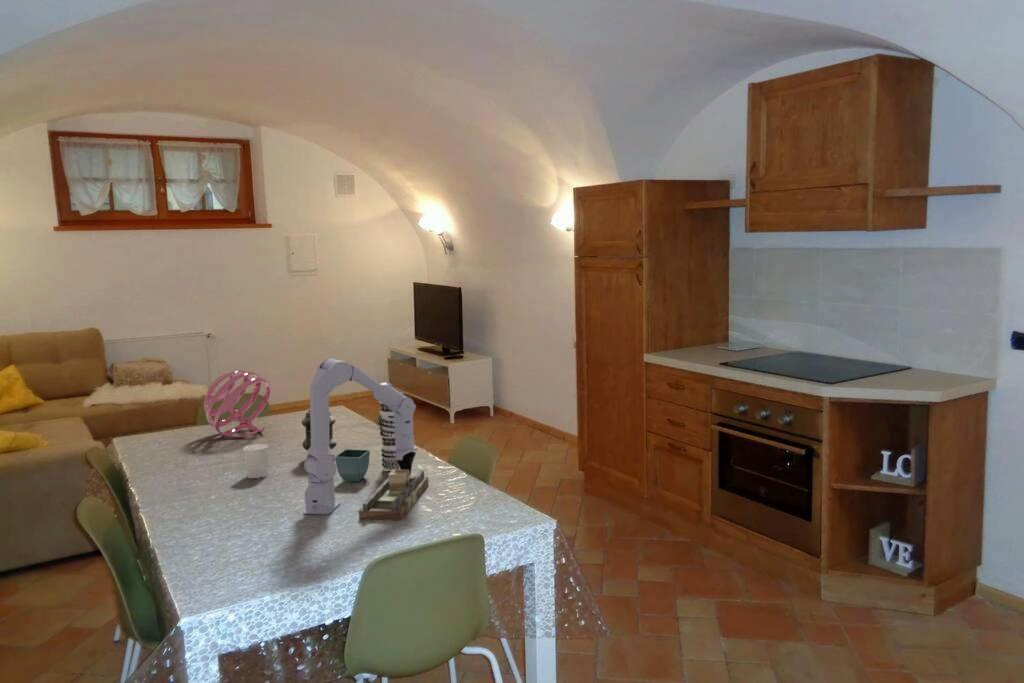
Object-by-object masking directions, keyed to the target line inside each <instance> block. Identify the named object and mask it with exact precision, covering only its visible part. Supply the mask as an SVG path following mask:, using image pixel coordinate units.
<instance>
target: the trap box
mask: <svg viewBox="0 0 1024 683" xmlns="http://www.w3.org/2000/svg"><path fill="white" fill-rule="evenodd" d="M424 472H425V471H424V470H419V471H418V473H416V474H415V476H409V477H410V483H409V484H408V485H407V487H406V488H405V489H404V490H403V491H392V490H389V476H388V477H387V478H386V479H385V480H384V481H383V483H381V485H380V486H378V487H377V489H376V490H374V492H373V493H372V494H371V495H370V496H369V497H368V498H367V499H366V500H365V501H364V502H363V503H362V507H361V508H360V509H359V510H358V520H363V519H370V520H369V521H372V520H373V521H401V520H402V519H403V518H404V516H406V514H407V513H408V511H409V510H410V509H411V508H412V506H413V505H414V503H415V502H416V501H417V500H418V499H419V497H420V496H421V495H422V494H423V492H424V491H425V490H426V488H427V487H428V486H429V476H425V473H424ZM427 485H428V486H427ZM426 486H427V487H426ZM423 490H424V491H423ZM422 491H423V492H422ZM420 494H421V495H420ZM419 495H420V496H419ZM417 498H418V499H417Z"/></svg>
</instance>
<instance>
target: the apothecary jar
mask: <svg viewBox="0 0 1024 683" xmlns="http://www.w3.org/2000/svg"><path fill="white" fill-rule="evenodd" d="M335 423H336V417H335V415H334V414H332V412H331V409H330V408H329V439H330V449H331V450H333V449H335V447H336V446H337V443H338V441H337V439H336V437H334V431H333V425H334V424H335ZM301 425H302V426H303V427H304V428H305V438H304V440H303V441H302V447H303V449H304V450H306V452H307V451H308V449H309V448H310V447H311V423H310V408H309V409H306V411H305V416H303V418H302V420H301ZM334 457H335V454H333V458H334ZM334 459H335V458H334Z"/></svg>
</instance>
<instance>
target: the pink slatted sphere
mask: <svg viewBox="0 0 1024 683" xmlns="http://www.w3.org/2000/svg"><path fill="white" fill-rule="evenodd" d="M235 374H237V375H235ZM253 375H254V377H253V378H250V376H253ZM227 378H229V380H227V381H226V382H225V383H224V384H223V385H221V386H220V387H219V389H218V390H217V391H216V392H215V389H216V388H217V387H218V386H219V385H220V384H221V383H222V382H223V381H224V380H226V379H227ZM240 379H242V383H241V384H239V385H238V386H237V387H236V388H234V387H235V385H236V382H237V381H239V380H240ZM263 383H266V384H265V385H266V388H265V392H264V396H263V398H262V399H261V402H260V403H259V405H258V407H257V408H256V409H255V410H254V411H253V412H252V413H251V414H250V415H249V416H248V417H247V418H245V417H244V414H245V413H246V412H247V411H248V410H249V409H250V408H251V406H252V405H253V404H254V402H255V401H256V400H257V398H258V396H259V394H260V392H261V388H262V384H263ZM254 384H255V386H254V388H253V391H252V392H251V395H250V396H249V398H248V399H247V400H246V401H245V402H244V404H243V405H242V406H241V407H240V408H239V409H235V405H236V404H237V403H238V402H239V401H240V400H241V398H243V396H244V395H245V393H246V391H247V389H248V388H249V387H251V386H252V385H254ZM271 387H272V386H271V384H270V383H269V381H268V380H267V379H266V378H263V377H261V376H260V375H259V374H258V373H256V372H254V371H245V370H242V369H240V370H234V371H230V372H228V373H224V374H223V375H220V376H219V377H217V378H216V379H214V381H213V382H212V383H211V385H210V386H209V388H208V389H207V392H206V395H205V398H204V403H203V407H204V412H205V415H206V420H207V422H208V423H209V425H210V426H211V427H212V428H213V429H214V430H215V431H216V432H217V433H219V434H220V435H222V436H224V437H227V438H230V439H244V438H247V437H251V436H253V435H254V434H256V433H262V432H264V431H265V430H266V427H262V428H258V427H257V426H255V425H253V424H252V423H253V422H254V420H255V419H256V418H258V416H259V415H260V414H261V412H262V411H263V410H264V408H266V407H265V406H266V405H267V404H268V402H269V399H270V396H271V393H272V388H271ZM233 388H234V389H233ZM214 392H215V393H214ZM219 401H222V403H221V404H220V406H218V408H215V409H213V408H214V406H215V404H216V403H217V402H219ZM225 412H229V413H230V416H228V417H227V418H225V419H222V420H221V418H222V416H223V414H224V413H225ZM213 416H214V419H213V418H212V417H213ZM233 422H238V423H239V424H238V425H236V426H235V427H233V428H231V429H228V430H220V428H221V427H225V426H228V425H230V424H231V423H233ZM243 429H248V430H250V431H252V432H249V433H247V434H243V435H233V433H234V434H236V433H238V432H240V431H242V430H243ZM230 434H231V435H230Z"/></svg>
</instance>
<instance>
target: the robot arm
mask: <svg viewBox="0 0 1024 683" xmlns="http://www.w3.org/2000/svg"><path fill="white" fill-rule="evenodd" d="M348 381H349V382H356V383H357V384H359V385H361V386H362V387H364V388H365V389H368V390H369V391H371V392H373V397H374V399H375V400H377V401H378V402H379V401H380V402H381V403H383V404H384V405H386V406H388V407H389V408H390V409H391V411H393V412H394V424H395V442H396V448H395V451H396V454H395V459H396V460H397V462H398V463H399V466H400V469H401V470H409V477H411V473H412V467H413V462H414V458H415V456H416V454H417V453H416V451H418V450H419V446H415V440H414V439H415V438H414V437H415V436H414V420H413V419H414V413H415V411H416V408H417V405H416V404H415V402H414V400H413V399H412V398H411V397H408V396H405V395H404V394H405V393H404V392H403V391H401V390H400V391H399V390H398V389H396V388H395V387H393V384H392V383H390V382H381V383H379V382H378V381H377V380H376V379H374V378H372V377H371V376H370V375H368V374H367V373H366V372H364V371H363V370H361V369H360V368H358V367H357V366H355V365H352V364H350V363H349V362H347V361H345V360H339V359H335V358H332V357H328V358H326V359H324V360H323V361H322V362H321V363H319V365H317V371H316V373H315V375H314V377H313V379H312V381H311V382H310V385H309V403H310V404H309V409H310V423H311V447H310V448H309V449H308V451H307V450H306V454H307V455H306V458H305V460H304V465H303V466H304V470H305V472H307V474H308V478H307V479H308V480H307V481H308V482H307V483H308V484H307V487H306V488H305V491H304V503H305V504H304V506H305V510H304V511H302V514H304V515H330V514H331V513H332V512H333V511H334V510H335V509H336V508H337V507H338V506H339V505H341V501H336V494H335V493H336V492H335V478H334V477H335V475H336V473H337V465H336V462H335V460H334V459H333V455H334V453H333V451H332V449H330V439H329V409H330V393H331V392H332V391H333V390H334V389H335V388H337V387H338V386H341V385H343V384H345V383H347V382H348ZM329 513H330V514H329Z"/></svg>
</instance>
